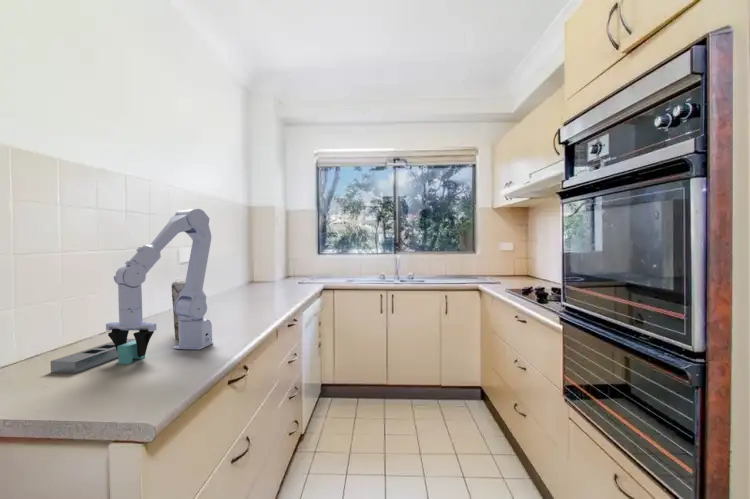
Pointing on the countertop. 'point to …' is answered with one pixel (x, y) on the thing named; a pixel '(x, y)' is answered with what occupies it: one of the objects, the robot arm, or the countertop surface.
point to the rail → (85, 359)
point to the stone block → (176, 289)
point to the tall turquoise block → (128, 353)
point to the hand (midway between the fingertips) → (131, 355)
